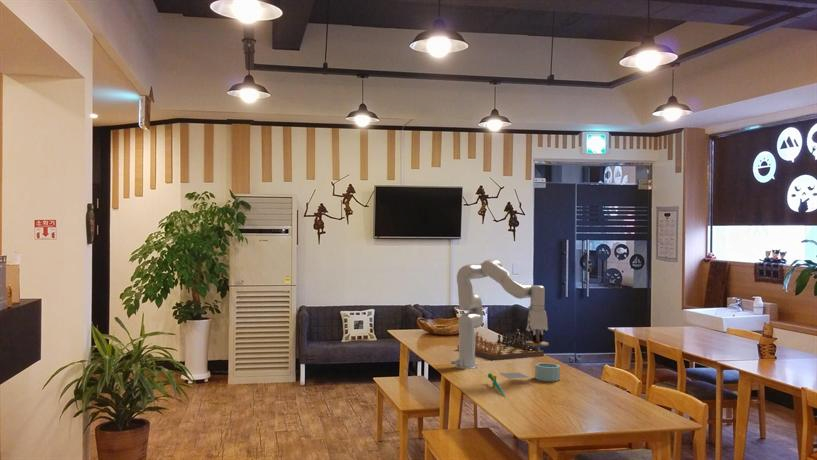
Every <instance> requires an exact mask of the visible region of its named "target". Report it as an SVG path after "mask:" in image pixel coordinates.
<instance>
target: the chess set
mask: <svg viewBox="0 0 817 460" xmlns="http://www.w3.org/2000/svg"><path fill="white" fill-rule="evenodd" d="M524 336H525V334H524V333H523V332H520V329H517V330H516V332H512V334H511V332H509V333H506V332H505V333H504V332H503V333H502V335H501V334H498V335H497V341H495V342H493V341H489V340H487V338H485V339H484V337H483V334H482V335H481V334H480V335H479V332H478V331H476V332H475V356H478V357H480V358H484V359H487V360H490V359H491V360H490V361H493V360H495V361H505V359H506V360H516V358H517V359H527V358H528V357H529V358H535V357H537V358H538V357H539V358H540V357H544V356H545V351H544V350H540V349H539V346H528V345H526V344H525V342H527V341H532V337H531V338H529V336H527V335H526V337H524ZM501 337H502V340H501ZM524 339H525V340H524ZM457 351H459V344H458V345H457Z"/></svg>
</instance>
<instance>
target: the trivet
mask: <svg viewBox="0 0 817 460" xmlns="http://www.w3.org/2000/svg"><path fill="white" fill-rule="evenodd" d="M499 375H502V376H503V377H505V378H508V379H521V378H522V379H523V378H528V376H527V375H525V374H523V373H521V372H501V373H499Z"/></svg>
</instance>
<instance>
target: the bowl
mask: <svg viewBox="0 0 817 460" xmlns="http://www.w3.org/2000/svg"><path fill="white" fill-rule="evenodd" d="M534 367H535V368H534V369H535V370H534V371H535V372H534V379H536V380H537V381H540V382H541V381H542V382H551V383H552V382H553V383H554V382H559V381H560V380H561V365H559V364H557V363H551V362H538V363H535V366H534Z"/></svg>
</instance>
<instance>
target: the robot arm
mask: <svg viewBox="0 0 817 460" xmlns="http://www.w3.org/2000/svg"><path fill="white" fill-rule="evenodd" d="M502 265H503V264H502V263H501V261H499V260H497V259H486V260H484V261H483V262H482V263H472V264H470V263H469V264H465V265H463V266H462V267H460V269H458V271H457V274H456V284H457V293H458V294H457V295H458V306H459V308H460V309H461V310H462V311H464V312H465V311H467V312H465V313H462V314H461V315H460V316H459V317H458V318H457V319H458V320H457V326H458V345H459V350H458V358H457V359H456V360H450V362H449V363H450V365H455V367H456V368H457V369H460V370H472V369H473V370H474V369H478V365H477V364H476V355H475V335H476V332H475V329H477V328H480V327H481V326H482V325H483V322H484V315H483V314H484V312H483V301H482V298H481V297H480V296H479V294H477V293H474V292H473V289H474V288H473V285H472V281H471V280H475V279H477V280H478V279H483V278H488V277H489V278H490V279H491V280H494V281H495V282H496V283H498V284H499V285H500V286H501V288H502V289H503V290H504V291H505V293H508V294H509V295H511V296H512V297H514V298H516V299H520V300H521V299H529V298H530V301H529V303H530V304H529V305H528V306H527V308H528V310H529V311H528V315H527V326H526V328H525V330H526V331H527V332H529V333H530V335H531V338H532V342H534V343H536V335H535V333H536V330H538V333H539V334H540V342H543V335H544V334H545V332H547V331H549V327H548V315H547V311H546V310H545V300H546V299H545V297H546V295H545V293H546V292H545V290H546V289H545V287H544V286H543V285H540V284H539V285H532V284H528V283H527V284H525V283H524V284H520V283H518V282H516V281H514V280H513V279H512V278H511V277H510V275H511V273H510V271H509V270H507V269H506V268H504V267H503V266H502Z"/></svg>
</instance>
